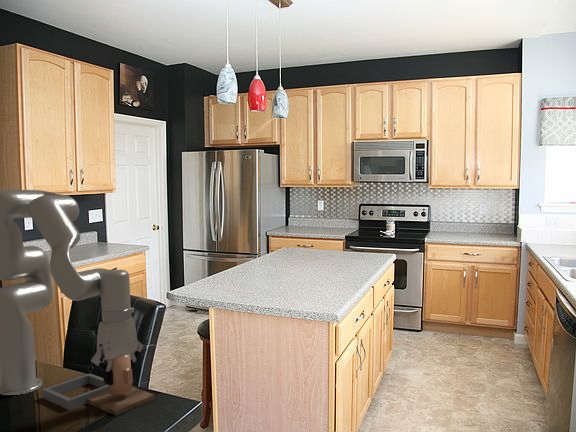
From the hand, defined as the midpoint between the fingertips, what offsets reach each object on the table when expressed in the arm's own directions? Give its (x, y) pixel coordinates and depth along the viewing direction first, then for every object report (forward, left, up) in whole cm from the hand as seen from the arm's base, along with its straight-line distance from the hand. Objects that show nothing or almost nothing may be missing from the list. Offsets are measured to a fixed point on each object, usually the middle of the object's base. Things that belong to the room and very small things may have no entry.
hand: (119, 379), depth 130 cm
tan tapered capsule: (0, 0, -3) cm, 3 cm away
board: (0, 0, -6) cm, 6 cm away
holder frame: (-14, -4, -6) cm, 16 cm away
